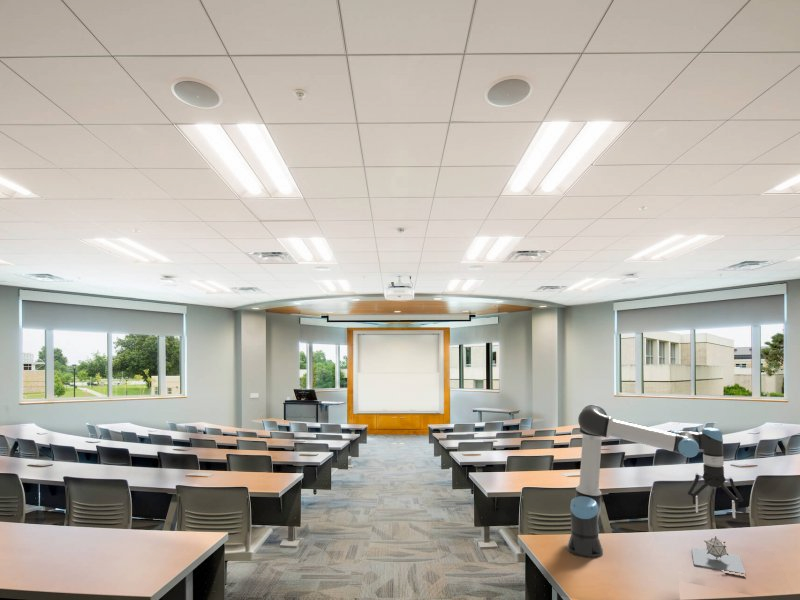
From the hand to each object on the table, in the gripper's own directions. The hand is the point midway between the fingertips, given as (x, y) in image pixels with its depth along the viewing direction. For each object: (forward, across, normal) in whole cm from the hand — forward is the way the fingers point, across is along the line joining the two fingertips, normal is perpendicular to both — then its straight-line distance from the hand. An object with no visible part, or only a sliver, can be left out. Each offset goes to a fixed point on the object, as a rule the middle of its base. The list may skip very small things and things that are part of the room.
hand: (715, 514), depth 216 cm
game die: (+19, 0, 0) cm, 19 cm away
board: (+21, 0, 0) cm, 21 cm away
